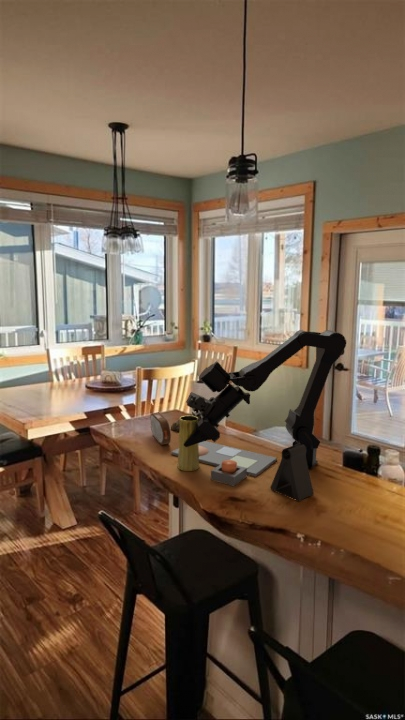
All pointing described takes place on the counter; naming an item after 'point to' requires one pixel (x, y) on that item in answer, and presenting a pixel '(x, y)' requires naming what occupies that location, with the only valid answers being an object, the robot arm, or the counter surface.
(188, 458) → the vase
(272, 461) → the picture board
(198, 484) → the counter surface
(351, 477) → the counter surface
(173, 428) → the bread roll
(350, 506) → the counter surface
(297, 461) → the phone stand
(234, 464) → the button
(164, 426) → the tin
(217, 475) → the button housing
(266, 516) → the counter surface
